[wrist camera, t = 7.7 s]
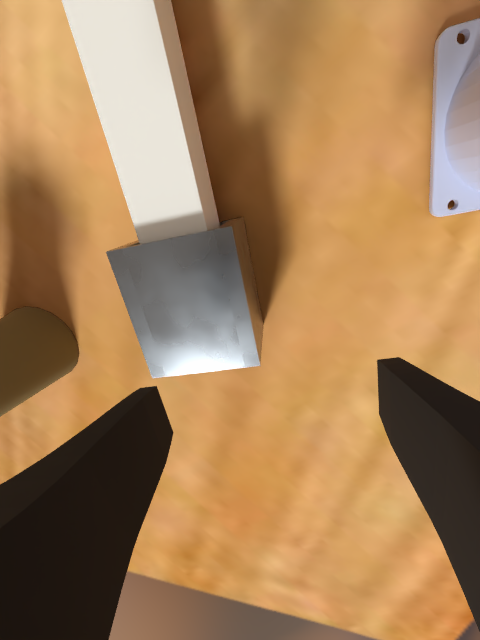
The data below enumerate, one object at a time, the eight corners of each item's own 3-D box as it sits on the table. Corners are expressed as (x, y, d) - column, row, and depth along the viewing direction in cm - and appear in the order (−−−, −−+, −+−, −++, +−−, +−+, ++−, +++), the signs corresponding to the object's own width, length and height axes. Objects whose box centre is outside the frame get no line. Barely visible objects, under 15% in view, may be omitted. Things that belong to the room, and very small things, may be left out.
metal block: (243, 217, 17) (231, 226, 13) (263, 324, 20) (260, 365, 15) (149, 236, 18) (105, 251, 14) (179, 336, 21) (152, 378, 16)
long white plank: (109, -290, 10) (37, -502, 7) (226, 248, 17) (215, 261, 14) (25, -242, 11) (-76, -419, 8) (170, 259, 18) (148, 273, 15)
